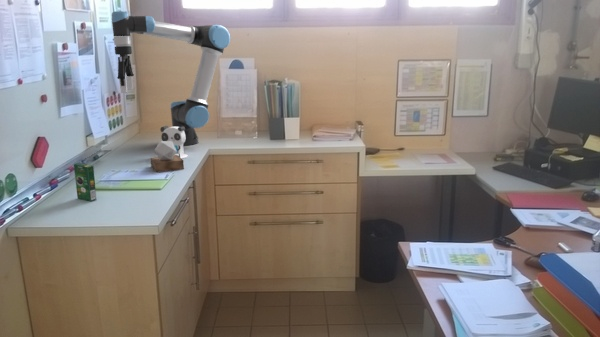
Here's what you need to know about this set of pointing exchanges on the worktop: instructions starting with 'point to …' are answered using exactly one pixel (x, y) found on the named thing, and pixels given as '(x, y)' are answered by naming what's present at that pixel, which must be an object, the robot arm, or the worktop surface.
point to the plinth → (167, 164)
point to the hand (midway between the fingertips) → (127, 91)
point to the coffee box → (85, 181)
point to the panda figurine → (175, 138)
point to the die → (165, 150)
